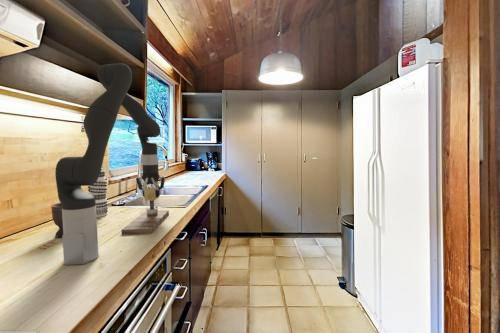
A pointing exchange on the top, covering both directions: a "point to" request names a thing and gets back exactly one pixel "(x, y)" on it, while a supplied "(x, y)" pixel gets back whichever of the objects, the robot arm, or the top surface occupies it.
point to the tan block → (150, 194)
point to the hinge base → (146, 221)
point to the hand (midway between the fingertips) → (151, 197)
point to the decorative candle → (100, 194)
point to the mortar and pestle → (58, 218)
